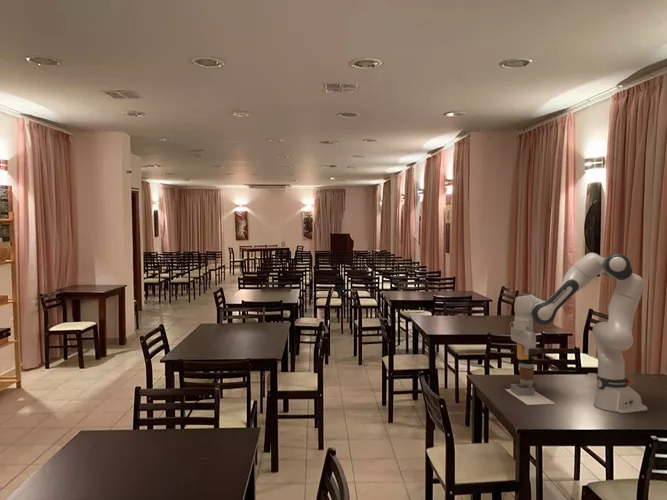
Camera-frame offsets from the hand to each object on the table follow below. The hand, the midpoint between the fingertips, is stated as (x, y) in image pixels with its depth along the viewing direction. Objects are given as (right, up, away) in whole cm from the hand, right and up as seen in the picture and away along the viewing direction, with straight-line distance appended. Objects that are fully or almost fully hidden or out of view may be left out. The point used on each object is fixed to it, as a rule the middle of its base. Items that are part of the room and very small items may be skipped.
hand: (522, 353), depth 262 cm
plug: (0, -3, 0) cm, 3 cm away
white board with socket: (+2, -21, -4) cm, 22 cm away
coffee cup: (+8, -21, +18) cm, 28 cm away
